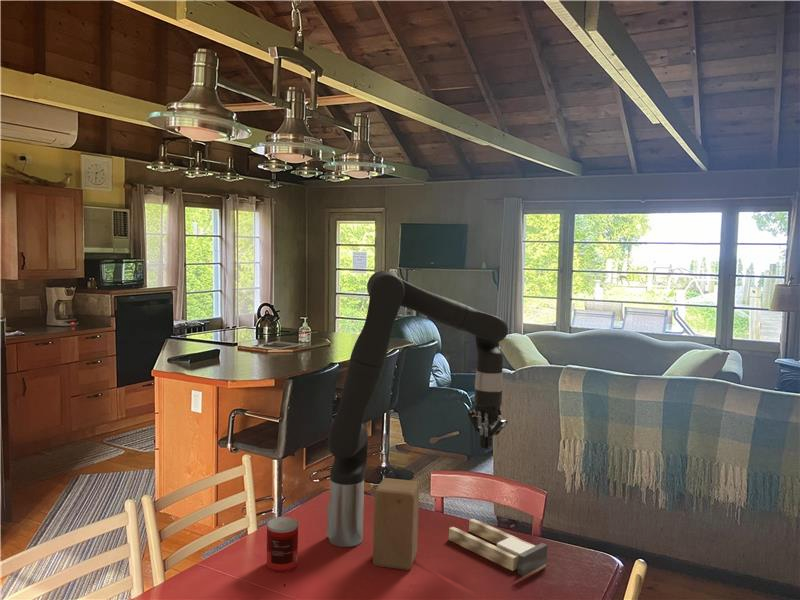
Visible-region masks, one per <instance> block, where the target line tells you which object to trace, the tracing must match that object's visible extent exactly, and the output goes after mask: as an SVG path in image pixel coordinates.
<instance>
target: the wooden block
mask: <svg viewBox="0 0 800 600" xmlns="http://www.w3.org/2000/svg"><path fill="white" fill-rule="evenodd" d="M419 502H420V483H419V482H418V481H417V480H410V479H399V478H389V477H384V478H382V480H381V481H380V483H379V484H378V486H377V487H376V489H375V492H374V508H373V509H374V510H373V540H372V541H373V543H372V544H373V545H372V546H373V547H372V563H373V565H374V566H376V567H382V568H383V567H384V568H391V569H397V570H407V571H409V570H411V569H412V566H413V564H414V561H415V559H416V555H417V553H418V536H419V535H418V534H419V533H418V531H419Z"/></svg>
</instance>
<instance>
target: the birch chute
mask: <svg viewBox="0 0 800 600" xmlns="http://www.w3.org/2000/svg"><path fill="white" fill-rule="evenodd" d="M468 532H469V533H468ZM468 532H466V531H465V530H461V529H460V528H457V527H455V526H451V527H449V528H448V541H450V542H453V543H454V544H457V545H459V546H460V547H463V548H465V550H466V549H467V550H468V551H471V552H473V553H475V554H477V555H479V556H481V557H483V558H484V559H487V560H489V561H491V562H493V563H495V564H497V565H499V566H502V567H503V568H506V569H507V570H510V571H512V572H514V571H516V570H517V574H518V575H520V579H525V578H527V577H528V576H530V575H533V574H534V573H536V572H538V571H540V570H542V569H543V568H545V567H546V566H547V559H548V556H547V554H548V544H546V543H544V542H540V543H539V544H537V545H535V544H533V543H531V542H528V541H526V540H523V539H521V538H518V537H516V536H514V535H512V534H510V533H508V532H505V531H503V530H501V529H498V528H496V527H494V526H492V525H489V524H487V523H484V522H482V521H479V520H477V519H475V518H470V519H469V520H468ZM470 533H472V534H470ZM473 534H474V535H476V536H474V535H473ZM477 536H478V537H477ZM479 537H481V538H483V539H481V538H479ZM509 537H513V538H515V539H518V540H520V541H522V542H525V543H527V544H529V545H531V546H534V547H533V548H531V549H529V550H527V551H525V552H523V553H520V554H518V568H517V556H516V555H514V554H511V553H509V552H507V551H505V550H503V549H501V548H498V547H497V543H498V542H500V541H503V540H505V539H507V538H509ZM484 539H485V540H487V541H489V542H487V541H485V540H484ZM490 542H491V543H490ZM492 543H493V544H492ZM494 544H496V545H494Z"/></svg>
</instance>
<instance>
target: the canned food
mask: <svg viewBox="0 0 800 600" xmlns="http://www.w3.org/2000/svg"><path fill="white" fill-rule="evenodd" d="M266 524H267V525H266V566H267V568H268V569H269V570H270V571H271V572H274V573H277V572H278V573H281V574H282V573H288V572H289V573H290V572H292V571H293V570H294V569H295V568H297V565H298V555H299V554H298V553H299V551H298V550H299V545H298V544H299V543H298V542H299V523H298V520H296V519H295V518H292V517H288V516H279V517H275V518H271V519H270V520H269V521H268V522H267V523H266ZM278 573H277V574H278Z"/></svg>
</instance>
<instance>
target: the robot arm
mask: <svg viewBox="0 0 800 600" xmlns="http://www.w3.org/2000/svg"><path fill="white" fill-rule="evenodd" d="M367 280H368V281H367V284H366V285H367V287H366V290H367V294H368V297H369V300H368V307H367V312H366V316H365V317H366V318H365V322H364V325H363V326H362V329H361V331H360V332H359V335H358V336H357V338H356V341H355V343H354V346H353V348H352V351H351V354H350V358H349V361H348V365H347V369H346V374H345V378H344V383H343V386H342V392H341V397H340V401H339V406H338V408H337V412H336V414H335V417H334V419H333V422H332V424H331V427H330V429H329V432H328V436H327V447H328V451H329V452H330V453H331V455H332V456H333V457H334V460H333V463H332V466H331V468H330V476H329V477H330V479H329V502H328V503H327V524H326V525H327V528H326V529H327V532H326V533H327V535H326V536H327V538H328V540H329V543H330V544H331V545H333V546H336V547H341V548H350V547H355V546H358V545H360V544H361V543H362V542H363V540H364V539H363V535H364V534H363V533H364V528H363V527H364V498H365V493H364V492H365V472H366V469H367V463H368V447H369V444H368V443H369V437H368V430H367V428H366V426H365V425H364V423H363V422H364V418H365V415H366V411H367V409H368V407H369V405H370V403H371V401H372V399H373V397H374V396H375V392H376V390H377V388H378V387H379V384H380V381H381V378H382V374H383V372H384V368H385V364H386V358H387V355H388V350H389V346H390V342H391V341H390V340H391V335H392V334H391V333H392V331H393V327H394V324H395V321H396V319H397V315H398V314H399V313H398V312H399V311H400V308H401V307H403V308H406V309H409V310H412V311H415V312H417V313H419V314H421V315H423V316H425V317H427V318H429V319H431V320H433V321H434V322H435V321H436V322H438V323H440V324H441V325H445V326H447V327H450V328H453V329H455V330H458V331H462V332H466V333H469V334H471V335H473V336H475V337H474V338H475V345H476V352H477V358H476V374H475V379H474V398H473V401H474V404H475V405H474V409H473V410H471V411H468V413H467V415H468V418H469V420H470V422H471V424H472V426H473V428H474V431H475V432H478V433H479V435H480V448H481V449H483V450H485V451H487V450H490V449H491V448H492V446H493V445H492V441H493V437H494V436H498V435H499V434H500V432H501V431H502V430H503V429H504V428H505V427H506V425H507V424H508V420H507V419H504V418H503V416H502V411H501V406H502V405H503V403H502V402H503V385H504V383H503V382H504V378H503V363H504V362H503V361H504V358H503V356H504V355H503V352H502V351H501V349H500V342H502V341H503V340H505V338H506V337H507V336H508V333H509V328H508V324H507V322H506V321H505V320H504V319H503V318H501V317H500V316H496V315H494V314H490V313H487V312H483V311H482V310H481V311H480V310H478V309H475V308H474V307H471V306H469V305H467V304H464V303H462V302H459V301H457V300H454V299H451V298H449V297H444V296H442V295H439V294H436V293H433V292H430V291H428V290H425V289H422V288H421V287H418V286H416V285H413V284H412V283H410V282H407V281H406V280H405V279H403V278H401V277H399V276H398V275H397V274H396V273H394V272H392V271H390V270H379V271H376V272H374V273H373V274H372V275H371V276H370V277H369V279H367Z"/></svg>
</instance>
